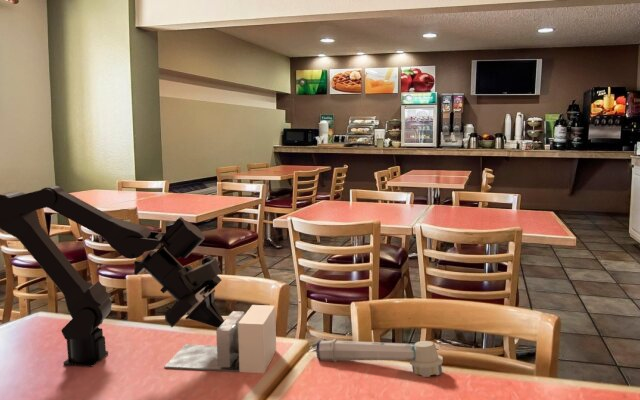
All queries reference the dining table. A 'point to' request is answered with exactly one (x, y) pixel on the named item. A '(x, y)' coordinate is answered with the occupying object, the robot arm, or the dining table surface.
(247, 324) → the socket
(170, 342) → the dining table surface
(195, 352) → the plate
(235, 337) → the grey piece
